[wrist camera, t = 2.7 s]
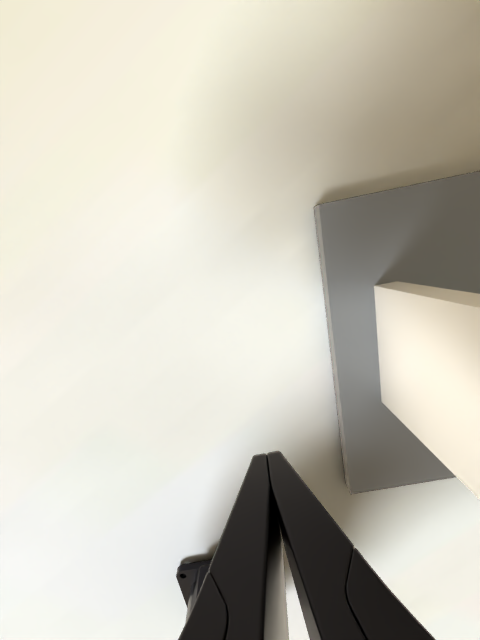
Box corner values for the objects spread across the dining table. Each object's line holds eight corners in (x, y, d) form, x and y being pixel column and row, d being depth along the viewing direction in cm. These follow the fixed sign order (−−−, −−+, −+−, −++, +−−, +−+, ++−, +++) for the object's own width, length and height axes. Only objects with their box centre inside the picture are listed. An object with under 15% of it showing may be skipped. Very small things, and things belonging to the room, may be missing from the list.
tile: (402, 398, 15) (638, 599, 6) (381, 401, 15) (585, 606, 6) (397, 281, 13) (713, 327, 4) (374, 285, 13) (639, 341, 4)
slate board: (584, 444, 17) (601, 453, 16) (345, 483, 17) (350, 494, 17) (635, 140, 12) (661, 132, 12) (313, 207, 13) (318, 204, 12)
